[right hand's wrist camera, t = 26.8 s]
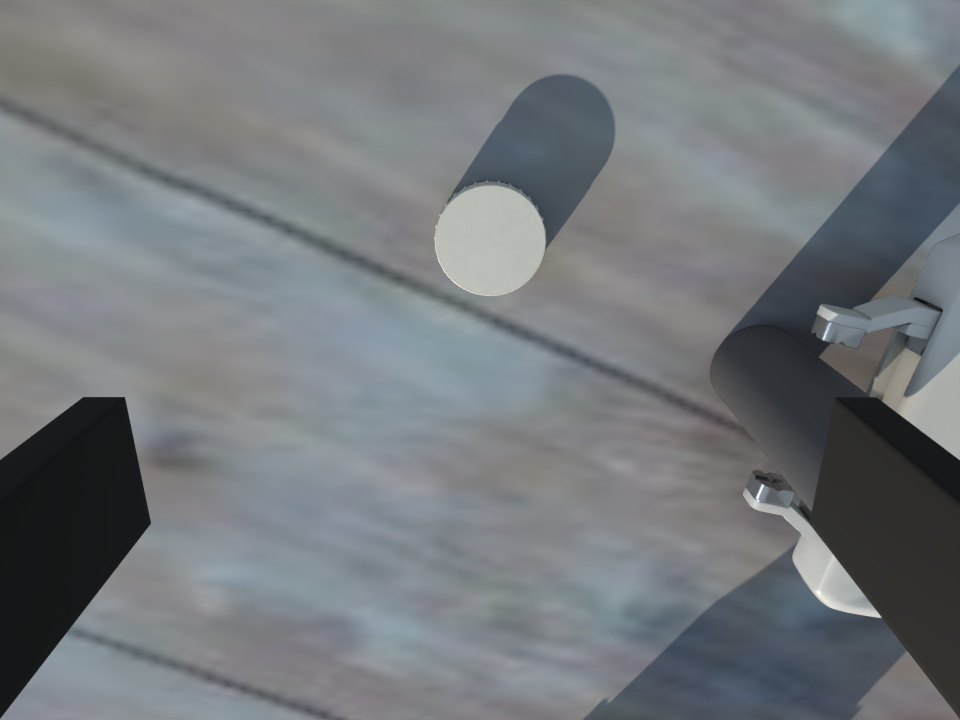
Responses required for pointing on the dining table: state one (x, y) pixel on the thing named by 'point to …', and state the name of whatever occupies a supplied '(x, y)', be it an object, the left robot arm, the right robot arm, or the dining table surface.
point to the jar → (781, 399)
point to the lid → (490, 238)
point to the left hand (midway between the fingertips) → (783, 409)
